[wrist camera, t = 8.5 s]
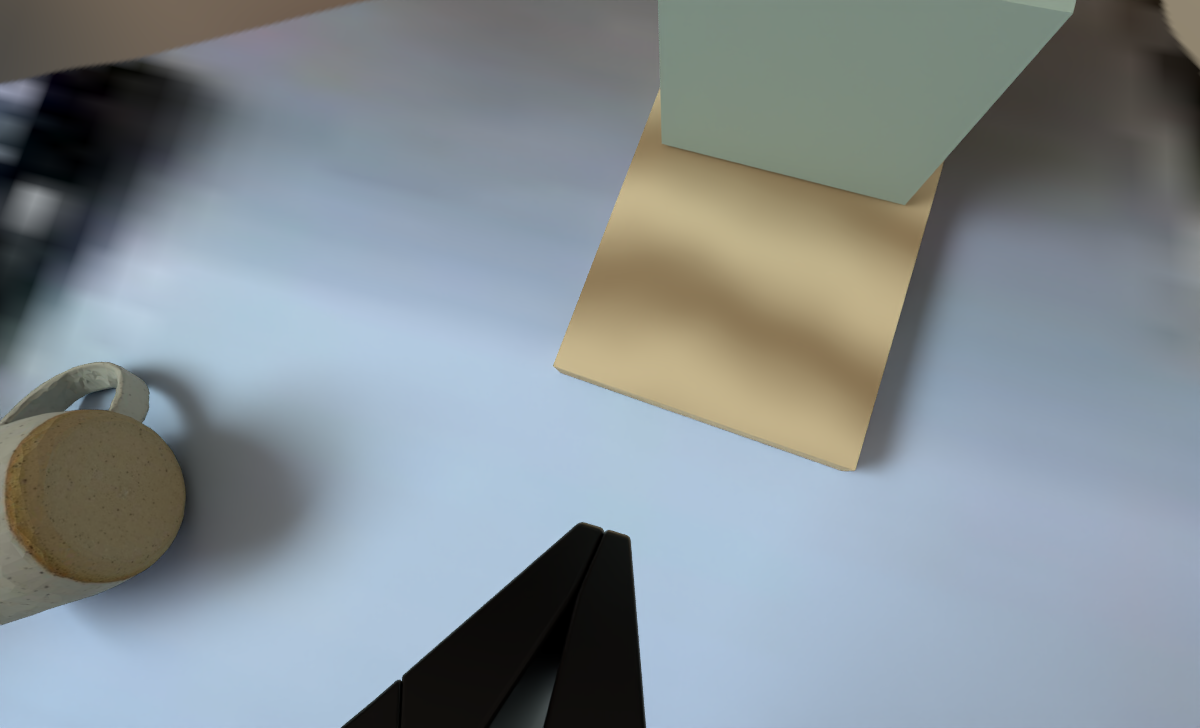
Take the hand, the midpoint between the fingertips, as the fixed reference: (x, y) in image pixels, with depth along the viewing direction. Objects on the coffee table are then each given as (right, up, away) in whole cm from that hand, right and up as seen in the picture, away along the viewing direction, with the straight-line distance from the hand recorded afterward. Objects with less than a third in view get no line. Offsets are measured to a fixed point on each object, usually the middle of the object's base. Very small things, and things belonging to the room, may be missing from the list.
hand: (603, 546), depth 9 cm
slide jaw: (+8, +12, +14) cm, 20 cm away
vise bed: (+7, +10, +15) cm, 19 cm away
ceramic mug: (-23, -3, +17) cm, 28 cm away
